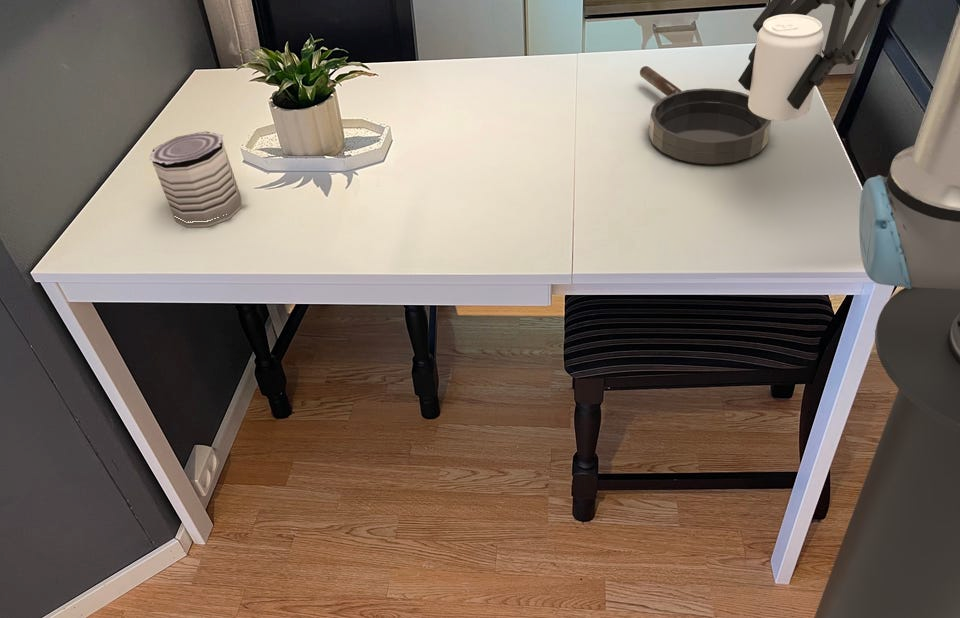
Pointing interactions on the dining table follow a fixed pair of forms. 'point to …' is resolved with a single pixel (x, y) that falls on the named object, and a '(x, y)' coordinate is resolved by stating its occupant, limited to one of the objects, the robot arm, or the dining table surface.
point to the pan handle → (658, 81)
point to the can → (197, 179)
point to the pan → (707, 126)
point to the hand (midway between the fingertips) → (767, 94)
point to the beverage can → (783, 64)
